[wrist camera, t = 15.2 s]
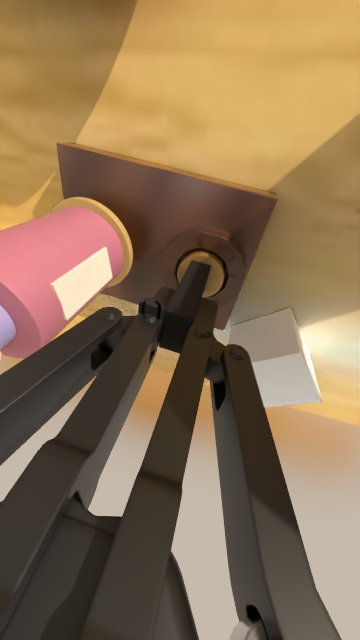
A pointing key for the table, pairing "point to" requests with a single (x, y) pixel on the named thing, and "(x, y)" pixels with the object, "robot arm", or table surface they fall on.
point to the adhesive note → (278, 359)
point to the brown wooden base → (170, 219)
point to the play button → (215, 272)
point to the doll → (57, 271)
